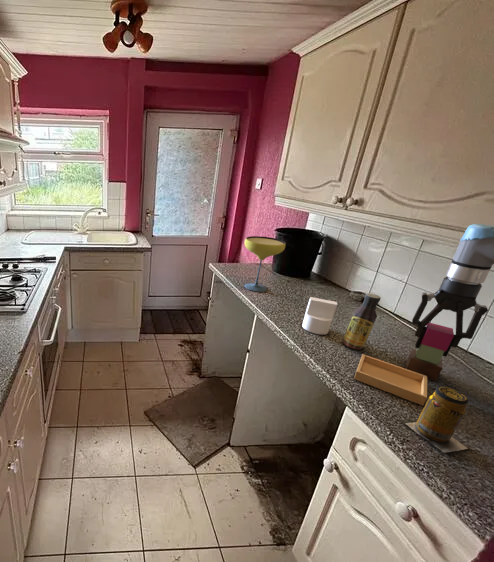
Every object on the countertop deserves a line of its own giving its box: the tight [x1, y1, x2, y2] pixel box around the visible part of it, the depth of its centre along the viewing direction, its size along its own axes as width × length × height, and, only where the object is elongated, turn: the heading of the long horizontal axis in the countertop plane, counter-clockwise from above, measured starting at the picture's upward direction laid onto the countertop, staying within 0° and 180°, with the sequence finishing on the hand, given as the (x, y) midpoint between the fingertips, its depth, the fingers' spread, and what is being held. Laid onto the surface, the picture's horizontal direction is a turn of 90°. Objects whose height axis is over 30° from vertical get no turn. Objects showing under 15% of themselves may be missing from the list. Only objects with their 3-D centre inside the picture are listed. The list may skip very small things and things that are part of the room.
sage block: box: [416, 344, 444, 365], centre depth 96 cm, size 5×5×5 cm
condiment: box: [404, 386, 469, 453], centre depth 72 cm, size 7×8×12 cm
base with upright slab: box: [301, 296, 338, 336], centre depth 120 cm, size 9×9×12 cm
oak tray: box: [353, 353, 428, 407], centre depth 93 cm, size 16×13×3 cm
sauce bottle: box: [342, 292, 381, 351], centre depth 107 cm, size 6×6×20 cm
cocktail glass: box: [243, 235, 286, 293], centre depth 155 cm, size 18×18×25 cm
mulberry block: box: [421, 321, 455, 351], centre depth 94 cm, size 6×6×6 cm
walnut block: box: [405, 348, 443, 382], centre depth 97 cm, size 7×7×5 cm
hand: (430, 350), depth 95 cm, fingers closed on mulberry block, 5 cm apart
